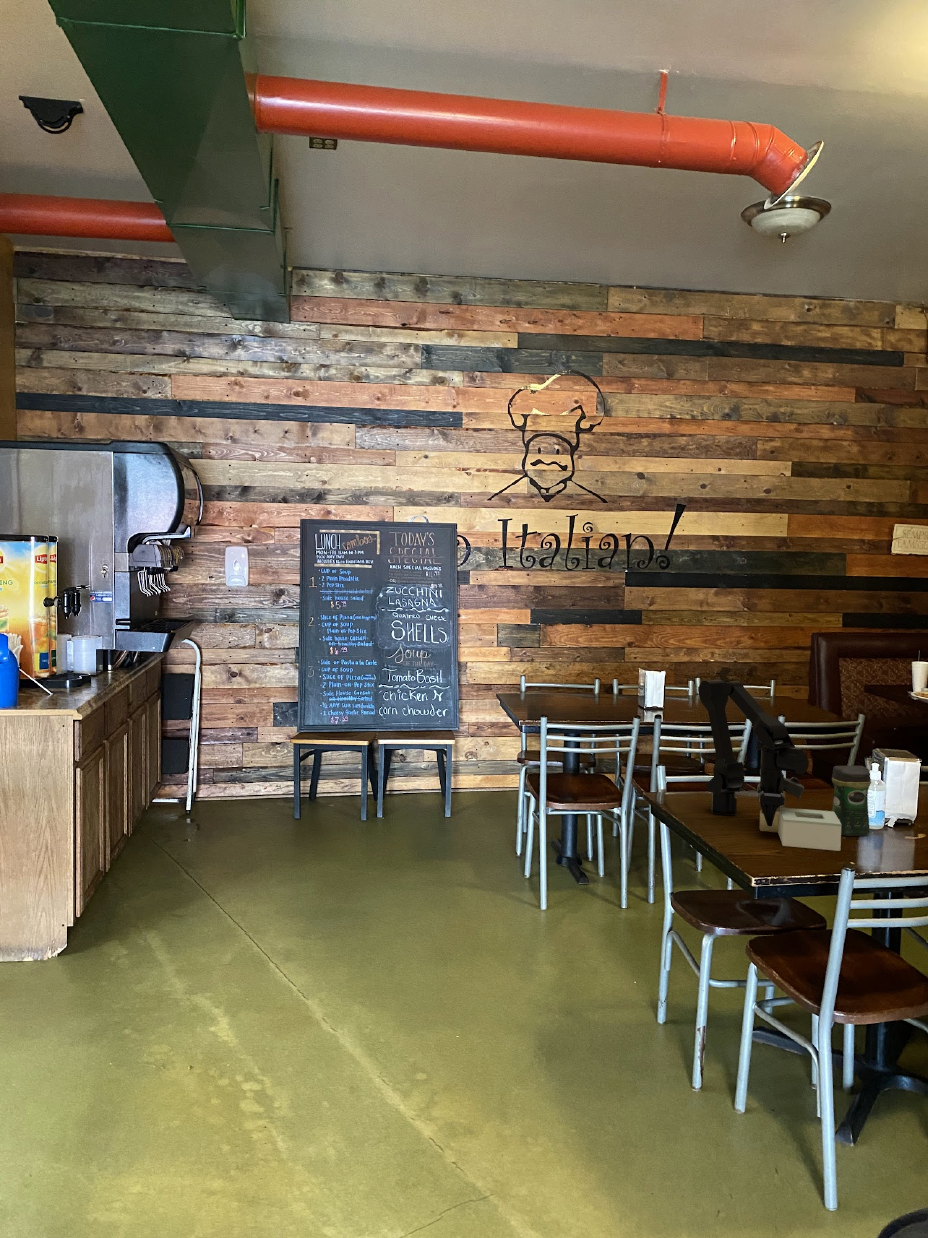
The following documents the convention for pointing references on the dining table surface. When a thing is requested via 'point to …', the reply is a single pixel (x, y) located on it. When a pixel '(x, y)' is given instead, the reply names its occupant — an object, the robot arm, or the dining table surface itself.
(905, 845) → the dining table surface
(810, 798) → the dining table surface
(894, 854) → the dining table surface
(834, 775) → the coffee jar
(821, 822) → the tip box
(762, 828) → the tan wooden block
